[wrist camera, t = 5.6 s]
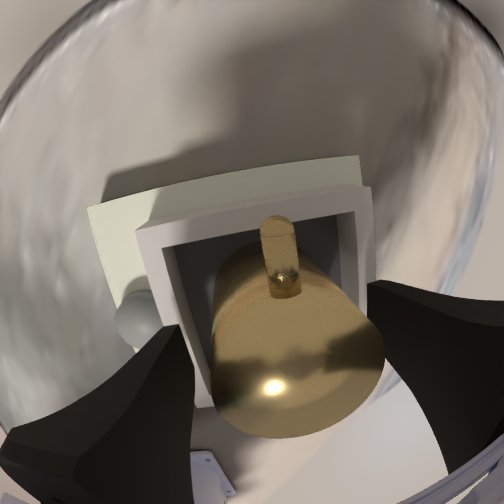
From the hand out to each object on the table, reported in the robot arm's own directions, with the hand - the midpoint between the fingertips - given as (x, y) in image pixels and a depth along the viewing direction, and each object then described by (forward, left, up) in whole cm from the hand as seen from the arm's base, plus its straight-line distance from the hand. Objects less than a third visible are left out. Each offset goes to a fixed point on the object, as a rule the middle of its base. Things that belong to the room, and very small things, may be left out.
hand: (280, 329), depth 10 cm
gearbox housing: (0, +1, -4) cm, 5 cm away
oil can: (0, 0, -3) cm, 3 cm away
